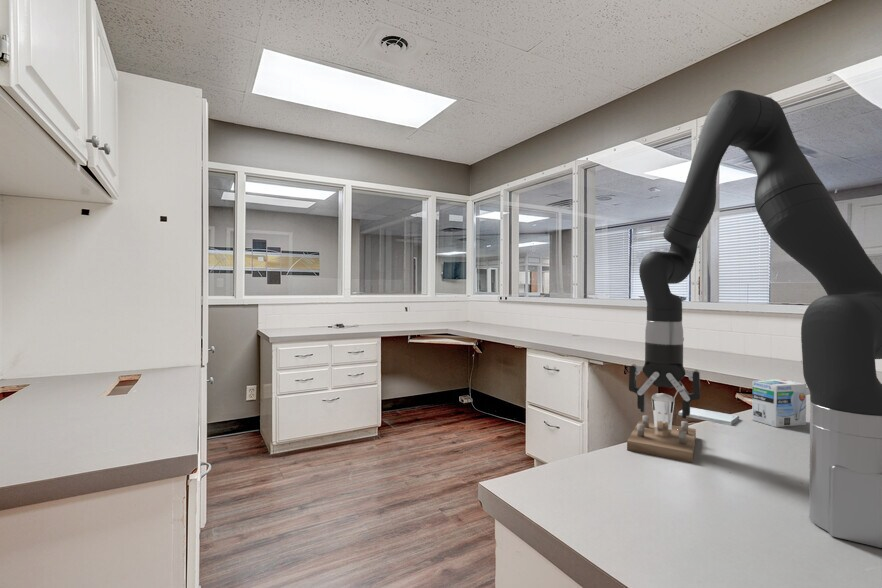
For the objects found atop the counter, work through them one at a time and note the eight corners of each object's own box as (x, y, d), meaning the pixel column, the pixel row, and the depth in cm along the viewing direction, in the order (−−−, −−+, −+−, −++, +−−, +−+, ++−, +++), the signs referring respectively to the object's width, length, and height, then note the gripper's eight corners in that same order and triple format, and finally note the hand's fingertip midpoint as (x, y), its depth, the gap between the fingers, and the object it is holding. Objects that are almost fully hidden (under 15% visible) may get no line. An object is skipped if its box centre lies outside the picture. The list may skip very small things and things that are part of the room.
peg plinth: (692, 462, 83) (692, 439, 83) (627, 449, 90) (627, 428, 90) (695, 437, 98) (695, 418, 98) (639, 428, 105) (639, 410, 105)
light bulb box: (776, 428, 107) (777, 385, 107) (750, 420, 113) (751, 380, 113) (807, 425, 109) (807, 383, 110) (780, 417, 116) (780, 378, 116)
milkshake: (681, 439, 91) (681, 392, 91) (654, 437, 92) (655, 391, 92) (674, 432, 95) (674, 388, 96) (649, 430, 96) (649, 387, 97)
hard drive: (739, 415, 114) (688, 405, 123) (731, 421, 108) (678, 411, 117) (739, 421, 114) (688, 411, 123) (731, 427, 108) (678, 416, 117)
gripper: (626, 340, 95) (625, 413, 95) (701, 345, 87) (700, 424, 87) (631, 337, 101) (631, 405, 101) (701, 342, 93) (701, 415, 93)
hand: (663, 414), depth 94 cm, fingers open, 8 cm apart
